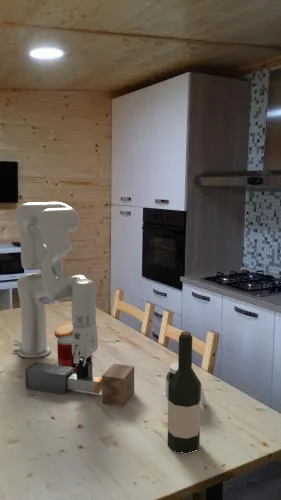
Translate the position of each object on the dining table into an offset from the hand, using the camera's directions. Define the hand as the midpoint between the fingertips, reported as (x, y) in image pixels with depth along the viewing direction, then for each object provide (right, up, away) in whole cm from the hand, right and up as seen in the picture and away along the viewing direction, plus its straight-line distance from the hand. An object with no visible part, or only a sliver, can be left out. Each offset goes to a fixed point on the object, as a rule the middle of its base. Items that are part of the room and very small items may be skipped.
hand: (84, 374), depth 149 cm
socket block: (+11, -7, -3) cm, 13 cm away
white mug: (+32, -8, -5) cm, 33 cm away
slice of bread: (-13, +3, +62) cm, 64 cm away
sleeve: (-12, -6, +5) cm, 14 cm away
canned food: (-8, -3, +20) cm, 22 cm away
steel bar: (-5, -4, +2) cm, 7 cm away
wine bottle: (+29, -11, -28) cm, 42 cm away
